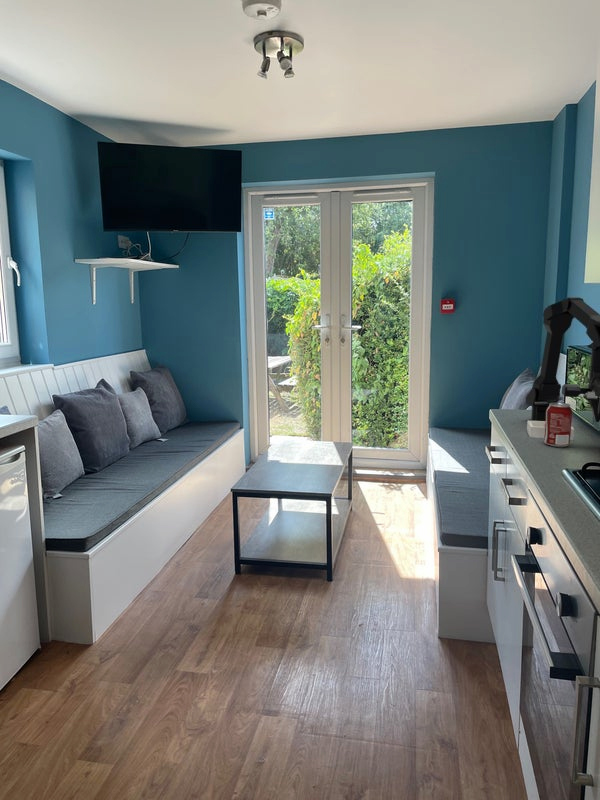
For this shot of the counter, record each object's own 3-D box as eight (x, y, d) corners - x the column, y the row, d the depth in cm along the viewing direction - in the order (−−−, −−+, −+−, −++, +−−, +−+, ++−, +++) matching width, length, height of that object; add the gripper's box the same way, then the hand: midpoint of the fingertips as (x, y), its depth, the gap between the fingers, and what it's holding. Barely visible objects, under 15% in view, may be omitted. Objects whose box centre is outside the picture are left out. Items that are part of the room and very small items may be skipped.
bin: (526, 431, 182) (527, 420, 182) (568, 433, 179) (568, 422, 178) (529, 438, 174) (530, 426, 173) (573, 440, 171) (574, 429, 170)
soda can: (572, 449, 162) (575, 406, 159) (546, 447, 163) (549, 406, 161) (566, 442, 168) (569, 402, 166) (541, 442, 169) (544, 401, 167)
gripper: (570, 369, 154) (565, 426, 156) (648, 371, 149) (642, 430, 151) (563, 364, 164) (559, 417, 167) (636, 366, 159) (631, 421, 162)
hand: (596, 421), depth 162 cm, fingers closed
